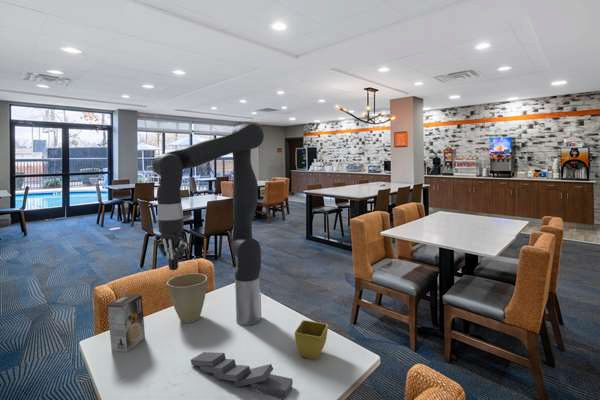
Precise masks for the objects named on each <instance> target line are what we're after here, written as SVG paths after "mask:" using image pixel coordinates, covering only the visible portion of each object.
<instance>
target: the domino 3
mask: <svg viewBox="0 0 600 400" xmlns="http://www.w3.org/2000/svg"><path fill="white" fill-rule="evenodd" d="M250 369H251V368H250V366H249V365H242V364H240V365H239V364H236V365H235V366H233V367H232V368H230V369H229V370H228V371H226V372H225V373H223V374H220V373H213V377H214V379H218V380H224V381H231V382H235V381H238V380H240V379H241V378H243V377H244V376H245V375H247V374H248V373H249V372H251V371H250Z"/></svg>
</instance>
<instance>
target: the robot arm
mask: <svg viewBox="0 0 600 400" xmlns="http://www.w3.org/2000/svg"><path fill="white" fill-rule="evenodd" d="M264 137H265V134H264V131H263V128H262V127H261V126H260V125H258V124H257V123H249V122H248V123H242V124H238V125H236V126H234V128H233V129H232V132H231V133H230V134H227V135H224V136H220V137H216V138H212V139H207V140H203V141H200V142H197V143H194V144H191V145H188V146H186V147H183V148H180V149H177V150H173V151H169V152H165V153H162V154H159V155H158V156H156V157H155V158H154V159H153V162H152V170H153V171H154V173H156V174H157V175H159V176H160V183H159V185H158V187H157V190H156V198H157V210H156V211H157V224H158V225H157V227H158V232H159V233H160V238H159V239H157V240H155V244H156V246H157V248H158V250H159V251H160V253H161V254H162V256H163V257H166V259H168V269H169V270H170V271H174V272H175V271H177V270H178V268H179V258H182V257H183V256H184V254H185V253H186V252H187V249H188V248H189V246H190V243H189V242H185V240H184V236H183V231H184V229H185V228H184V227H185V226H184V213H183V212H184V210H183V209H184V208H183V205H182V193H181V192H182V191H181V189H182V184H183V183H182V182H183V176H184V175H183V173H184V170H186V169H191V168H196V167H199V166H202V165H203V164H207V163H209V162H212V161H214V160H216V159H220V158H222V157H225V156H227V155H230V154H232V160H233V161H232V162H233V163H232V164H233V167H232V170H233V171H232V173H233V177H232V178H233V184H232V185H233V187H232V200H233V204H232V205H233V209H232V211H233V214H232V215H233V226H232V228H233V229H232V237H231V238H232V239H231V247H230V248H231V252H232V253H233V255H234V256H235V257H236V258H237V269H235V272H234V284H235V286H234V289H235V315H236V317H235V318H236V319H235V320H236V323H237V324H238V325H241V326H254V325H256V324H258V323H259V322H260V321H261V317H262V294H261V293H260V292H261V290H260V289H261V288H260V272H261V268H262V249H261V244H260V242H259V241H257V239H255V238H254V237H253V230H252V224H253V218H254V216H255V212H256V209H257V207H258V201H259V185H258V184H259V183H258V180H257V178H256V174H255V172H254V169H253V166H252V159H251V158H252V157H251V156H252V155H251V154H252V153H251V152H252V150H253V149H256V148H258V147H260V145H262V143H263V141H264V139H265V138H264Z"/></svg>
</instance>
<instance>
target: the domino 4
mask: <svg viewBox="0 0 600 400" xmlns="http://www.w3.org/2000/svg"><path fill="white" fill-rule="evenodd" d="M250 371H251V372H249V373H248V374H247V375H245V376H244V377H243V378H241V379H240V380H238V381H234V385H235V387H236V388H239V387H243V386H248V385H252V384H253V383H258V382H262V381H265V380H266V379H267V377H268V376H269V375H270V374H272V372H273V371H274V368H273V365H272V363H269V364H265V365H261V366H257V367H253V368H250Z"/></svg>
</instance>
